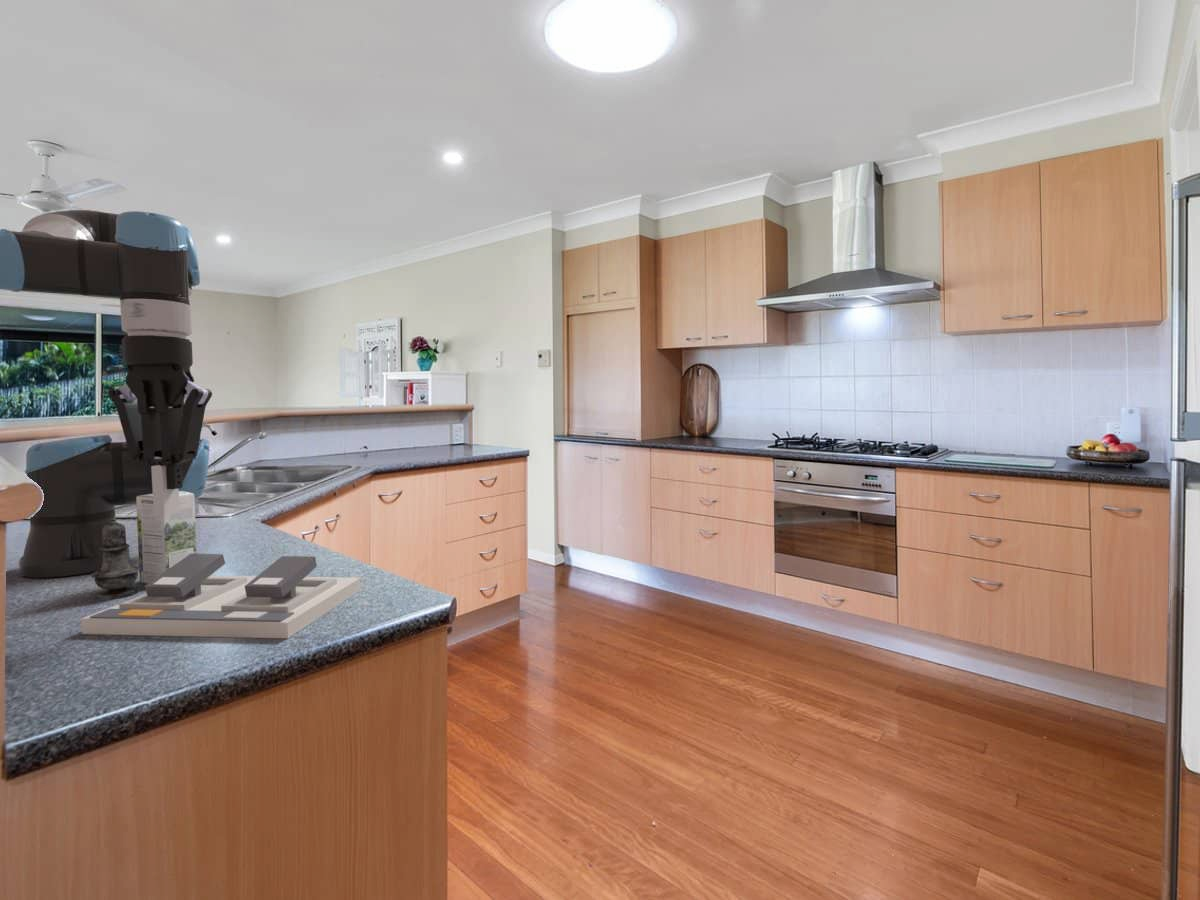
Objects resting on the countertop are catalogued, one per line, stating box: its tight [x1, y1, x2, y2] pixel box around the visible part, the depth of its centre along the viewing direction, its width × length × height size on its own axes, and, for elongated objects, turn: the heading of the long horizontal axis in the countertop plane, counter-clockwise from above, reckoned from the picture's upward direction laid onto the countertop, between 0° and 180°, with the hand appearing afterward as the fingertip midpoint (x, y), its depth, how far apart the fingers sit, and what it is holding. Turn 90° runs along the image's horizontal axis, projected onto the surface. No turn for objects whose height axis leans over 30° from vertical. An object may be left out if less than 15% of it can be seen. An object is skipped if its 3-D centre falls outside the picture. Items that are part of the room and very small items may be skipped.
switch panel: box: [81, 575, 362, 639], centre depth 87 cm, size 20×27×4 cm
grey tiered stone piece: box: [91, 517, 140, 601], centre depth 94 cm, size 6×6×12 cm
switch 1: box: [144, 553, 226, 597], centre depth 87 cm, size 9×5×2 cm, turn 176°
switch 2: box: [245, 555, 317, 598], centre depth 86 cm, size 9×5×2 cm, turn 176°
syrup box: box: [135, 491, 197, 584], centre depth 102 cm, size 6×6×14 cm
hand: (167, 513), depth 83 cm, fingers closed
